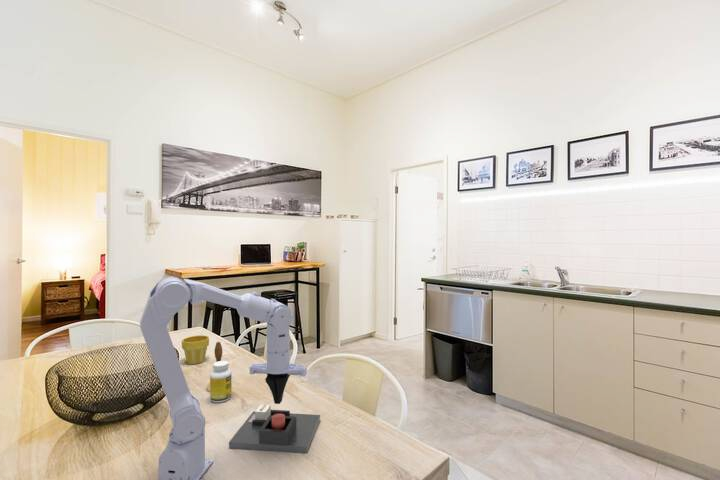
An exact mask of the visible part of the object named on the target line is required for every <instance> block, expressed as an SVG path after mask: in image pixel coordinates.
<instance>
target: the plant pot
mask: <svg viewBox="0 0 720 480" xmlns="http://www.w3.org/2000/svg"><path fill="white" fill-rule="evenodd" d="M209 346H210V336H208V335H202V334H201V335H191V336H188V337H184V338H183V339H182V340H181V348H182V350H183V353H184V356H185V359H186V364H188V365H197V364H198V365H199V364H201V363H204V362H205V360H206V355H207V350H208V347H209Z"/></svg>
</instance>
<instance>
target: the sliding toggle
mask: <svg viewBox="0 0 720 480" xmlns="http://www.w3.org/2000/svg"><path fill="white" fill-rule="evenodd" d="M271 407H272V405H271V404H267V403H265V402H264V403H263V404H261V403H260V404H259V406H258V407H257V409H255V420H267V418H268V417H269V416H270V415H271V410H272V409H271Z"/></svg>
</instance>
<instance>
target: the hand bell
mask: <svg viewBox="0 0 720 480" xmlns="http://www.w3.org/2000/svg"><path fill="white" fill-rule="evenodd" d="M214 357H215V360H216V361H215V362H218V361H222V357H223V347H222V343H221V341H217V342H216V343H215V346H214ZM205 390H206V391H207V392H209V393H210V382H209V383H208V384H207V385H206V387H205Z"/></svg>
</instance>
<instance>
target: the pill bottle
mask: <svg viewBox="0 0 720 480" xmlns="http://www.w3.org/2000/svg"><path fill="white" fill-rule="evenodd" d="M212 368H213V371H211V372H210V375H209V377H210V378H209V383H210V392H209V395H210V396H209V397H210V401H211V402H213V403H224V402H227V401H229V400H231V398H232V395H233V393H232V390H233V389H232V387H233V386H232V370H231V369H230V368H229V361H227V360H221V361H218V362H216V361H215V362H214V363H213V364H212Z"/></svg>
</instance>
